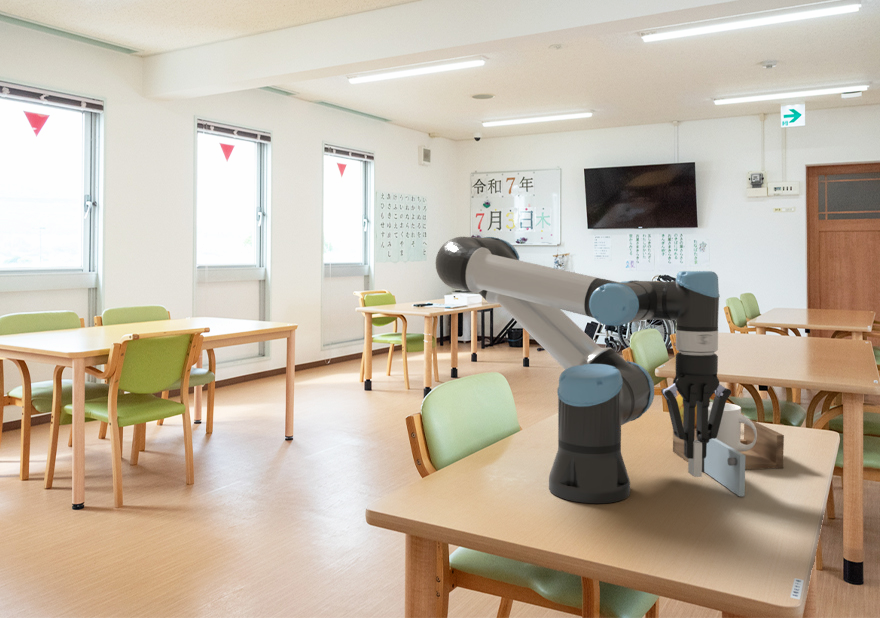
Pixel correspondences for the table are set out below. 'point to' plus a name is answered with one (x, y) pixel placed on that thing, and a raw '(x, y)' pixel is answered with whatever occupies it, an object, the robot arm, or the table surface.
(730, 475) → the door
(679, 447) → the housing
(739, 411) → the mug
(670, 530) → the table surface
